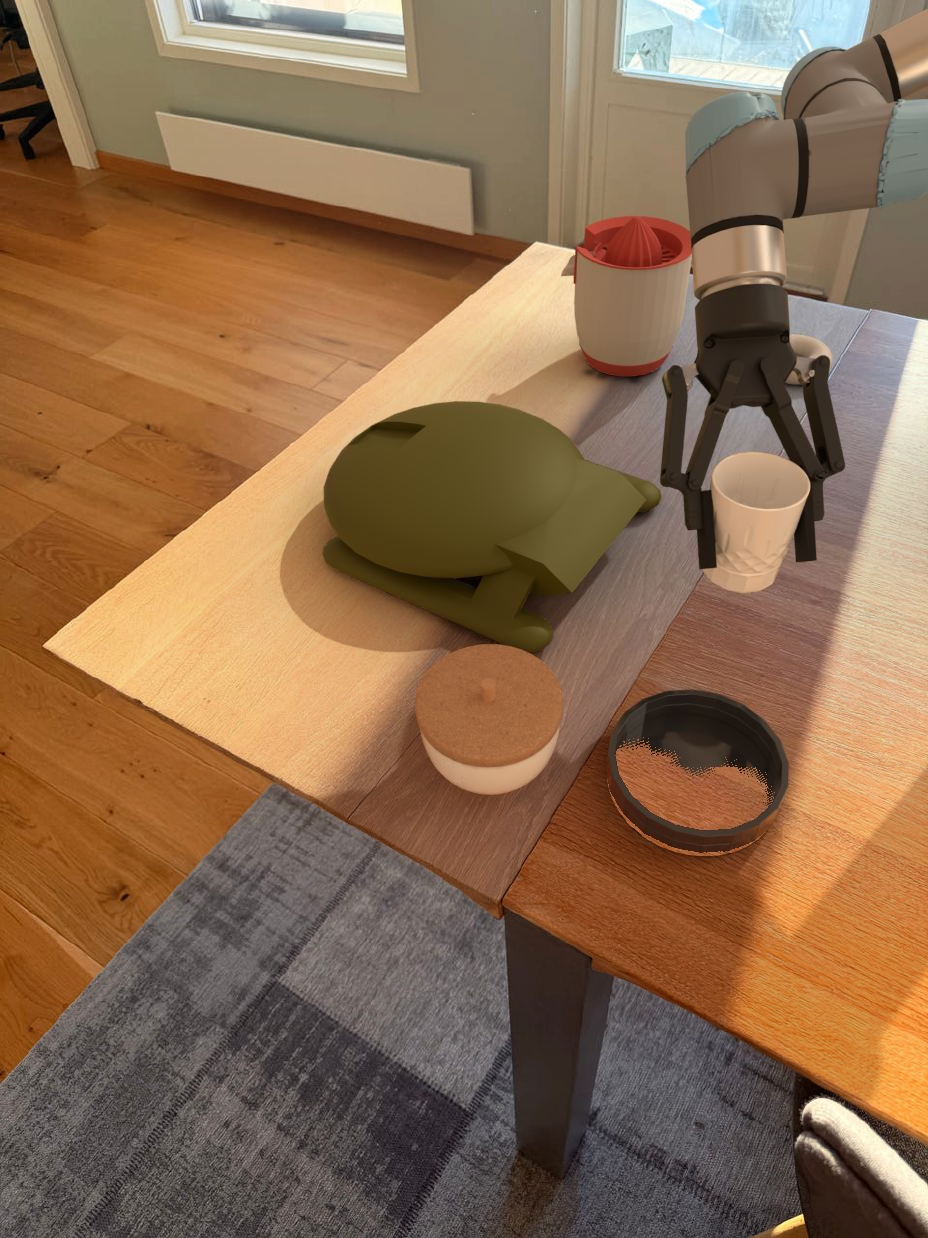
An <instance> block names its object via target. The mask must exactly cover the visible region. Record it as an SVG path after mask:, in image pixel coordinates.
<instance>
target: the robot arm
mask: <svg viewBox="0 0 928 1238" xmlns="http://www.w3.org/2000/svg"><path fill="white" fill-rule="evenodd" d="M780 106H781V114H782V116H783V117H782V119H780V115H779V114H778V112H777V106H776V102H775V101H774V100H773V98H771V97H770V96H769V95H768V94H765V93H763V92H754V93H750V92H749V91H745V90H744V91H737V92H731V93H727V94H724V95H722V96H718V97H716V98H714V99H712V100H710V101H708V102H706V103H705V104H704V105H702V106H701V107H699V108H698V110H696V111H695V112H694V113H693V115H692V116H691V117H690V119H689V121H688V123H687V126H686V128H685V133H684V134H685V137H684V138H685V176H684V178H685V184H686V196H687V197H686V198H687V209H688V221H689V231H690V237H691V250H692V260H691V266H692V278H693V279H692V283H693V296H694V297H695V298H696V299H697V300H699V301H698V302H697V304H695V306H694V317H695V319H694V320H695V332H696V333H695V334H696V348H697V353H696V357H695V359H694V362H693V363H691V364H687V365H683V366H680V365H672V366H670V367H669V368H668V369H667V370H666V372H665V373H663V374H662V376H661V381H662V382H661V383H662V386H663V390H664V394H665V397H666V407H665V419H664V430H663V432H664V433H663V442H662V450H661V451H662V452H661V463H660V473H659V474H660V475H659V483H660V485H661V486H662V487H664V488H671V489H674V490H677V491H679V492H680V493H681V495H682V498H683V500H682V501H683V513H684V515H683V516H684V526H685V528H686V530H687V531H696V540H697V542H696V543H697V555H698V556H697V557H698V569H699V570H703V569H710V568H717V562H716V546H715V530H714V514H713V500H712V491H711V490H710V489H705V490H702V486H703V484H704V481H705V478H706V475H707V473H708V469H709V467H710V464H711V461H712V458H713V456H714V455H713V454H714V452H715V449H716V446H717V444H718V440H719V437H720V435H721V431H722V429H723V426H724V422H725V421H726V417H727V415H728V413H729V411H730V410H731V409H733V410H734V409H736V408H740V407H743V406H744V407H750V408H759V407H760V409H761V410H762V412H763V414H764V415H765V416H766V417H767V418H768V419H769V421H770V423H771V425H772V428H773V429H774V431H775V433H776V435H777V437H778V440H779V441H780V444H781V445H782V448H783V450H784V451H785V454H786V456H787V459H788V460H790V461H792V462H793V463H795V464H796V465H798V466H799V467H800V468H801V469H802V470H803V471H804V472H805V473H806V475H807V476H808V478H809V481H810V492H809V494H808V497H807V500H806V503H805V505H804V508H803V511H802V514H801V516H800V519H799V522H798V525H797V528H796V530H795V533H794V536H793V540H794V556H795V563H806V562H807V563H808V562H816V561H817V560H818V557H817V556H818V555H817V541H816V540H817V539H816V526H815V524H816V523H815V522H820V521H823V520H824V517H825V500H824V499H825V498H824V482H825V481H826V480H827V479H828V478H830V477H832V476H834V475H836V474H839V473H841V472H843V471H844V470H845V468H846V461H845V457H844V452H843V446H842V443H841V438H840V433H839V430H838V424H837V419H836V416H835V410H834V406H833V402H832V401H833V400H832V396H831V393H830V387H829V383H828V382H829V375H830V371H829V369H830V359H829V357H827V356H825V355H821V356H819V357H817V358H807V357H799V356H796V353H795V351H794V350H793V348H792V346H791V344H790V334H791V330H790V329H791V327H790V326H791V324H790V310H789V294H788V291H787V290H785V288H784V285H785V284H786V283H787V281H788V274H787V261H786V248H785V247H786V246H785V236H784V235H785V233H784V232H785V231H784V220H788V219H789V220H790V219H799V218H801V217H810V216H817V215H826V214H834V213H840V212H841V213H842V212H849V211H858V210H868V209H874V208H877V209H879V210H880V209H884V208H885V207H887V206H891V205H897V204H901V203H905V202H911V201H916V200H919V199H921V198H923V197H924V196H925V195H927V194H928V8H927V9H925V10H923V11H921V12H919V13H917V14H914V15H913V16H911V17H909V18H907V19H905V20H904V21H901V22H900V23H898V24H896V25H894V26H892V27H890V28H888V29H886V30H884V31H882V32H879V33H877V34H876V35H874V36H872V37H870V38H868V39H865V40H863V41H861V42H860V43H857V44H856V45H853V46H851V47H850V48H848V49H846V48H843V47H838V46H823V47H818V48H816V49H814V50H811V51H809V52H808V53H806V54H805V55H804V56H802V57H801V58H800V59H799V60H798V61H797V62H796V63H795V64H794V65H793V66H792V68H791V69H790V71H789V72H788V74H787V75H786V78H785V80H784V82H783V85H782V90H781V94H780ZM830 370H831V369H830ZM792 371H794V372H795V373H796V374H797V378H798V382H799V383H800V384H799V385H802V396H803V401H804V407H805V411H806V415H807V419H808V423H809V428H810V433H811V438H812V442H813V446H812V444H811V441H810V440H809V438H808V436H807V434H806V432H805V430H804V428H803V426H802V423H801V421H800V419H799V418H798V415H797V413H796V411H795V409H794V408H793V405H792V404H793V400H792V398H791V395H790V393H789V391H788V389H787V387H786V385H785V384H786V383H785V382H786V380H787V379H788V377H789V375H790V374H791V372H792ZM695 378H696V379H697V381H698V382H699V383H700V384H701V385H702V387H703V388H704V389H705V390H706V391H707V393H708V394H709V395H710V396H709V398H708V402H707V404H706V407H705V410H704V414H703V415H704V417H703V420H702V423H701V425H700V429H699V433H698V434H697V437H696V440H695V443H694V446H693V449H692V452H691V455H690V458H689V461H688V464H687V466H686V469H685V473H684V472H682V468H683V456H684V444H685V433H686V423H687V413H688V412H687V411H688V400H689V393H688V392H689V391H690V390H691V389H692V388H693V385H694V379H695Z"/></svg>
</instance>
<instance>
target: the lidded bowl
mask: <svg viewBox="0 0 928 1238" xmlns="http://www.w3.org/2000/svg"><path fill="white" fill-rule="evenodd" d="M414 710H415V716H416V720H417V721H416V722H417V725H418V726H419V731H420V732H419V733H420V736H421V737H420V738H421V741H422V744H423V746H424V749H425V751H426V754H427V756H428V758H429V759H430V761H431V763H432V764H433V766H434V767H435V769H436V770H437V771H438V772H439V773H440V774H441V775H442V776H443V777H444V778H445V779H446V780H447V781H449V782H450V783H451V784H452V785H454V786H456V787H458V788H460V789H462V790H464V791H467V792H470V793H474V794H479V795H488V796H492V795H493V796H494V795H502V794H503V795H504V794H508V793H510V792H513V791H516V790H518V789H520V788H522V787H524V786H526V785H528V784H529V783H531V782H532V781H533V780H535V779H536V778H537V776H539V775H540V773H542V771H544V769H545V768H546V767H547V765H548V763H549V762H550V759H552V755H553V754H554V752H555V750H556V746H557V742H558V740H559V734H560V731H561V723H562V718H563V713H564V694H563V689H562V687H561V684H560V682H559V680H558V678H557V676H556V675H555V673H554V672H553V671H552V669H551V668H550V667H549V666H548V665H547V664H546V663H545V662H543V660H541V659H540V658H538V657H537V656H535V655H533V654H532V653H528V652H526V651H524V650H521V649H518V648H515V647H511V646H506V645H502V644H500V643H498V644H495V643H485V644H475V645H469V646H466V647H463V648H459V649H456V650H455V651H453V652H451V653H449V654H446V655H445V656H443V657H441V658H440V659H439V660H437V661H436V662H435V663H434V664H433V665H432V666H430V668H429V669H427V671H426V672H425V673H424V675H423V677H422V678H421V680H420V681H419V684H418V686H417V689H416V692H415V697H414Z"/></svg>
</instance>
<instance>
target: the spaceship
mask: <svg viewBox="0 0 928 1238" xmlns="http://www.w3.org/2000/svg"><path fill="white" fill-rule="evenodd" d="M662 496H663V495H662V491H661V489H659V487H658V486H657V485H656V484H655V483H653V482H651V481H649V480H646V479H643V478H641V477H638V476H634V475H631V474H628V473H625V472H623V471H620V470H618V469H617V470H616V469H615V468H614V469H613V468H611V467H608V466H605V465H602V464H599V463H597V462H593V461H591V460H587V459H585V457H584V456H583V454H582V453H581V451H580V450H579V448H578V447H577V446H576V444H575V443H574V441H573V440H571V438H570V437H568V436H567V435H566V434H565V433H564V432H563V431H562V430H561V429H560V428H558V427H556V426H555V425H553V424H551V422H548V421H547V420H545V419H544V418H542V417H538V416H536V415H534V414H531V413H529V412H526V411H524V410H521V409H519V408H515V407H511V406H507V405H502V404H499V403H494V402H493V403H492V402H486V401H485V402H484V401H473V400H471V401H469V400H468V401H467V400H466V401H465V400H463V401H462V400H457V401H456V400H455V401H445V402H435V403H430V404H424V405H420V406H416V407H411V408H409V409H405V410H402V411H400V412H397V413H394V414H391V415H390V416H388V417H386V418H384V419H381V420H380V421H377V422H375V423H373V424H372V425H370V426H369V427H367V428H365V430H363V431H362V432H360V433H358V434H357V435H356V436H354V437H353V438H352V439H351V440H350V442H348V443H347V444H346V445H345V446H344V447H343V448H342V449H341V450H340V452H339V454H338V455H337V457H336V458H335V460H334V462H333V463H332V465H331V466H330V468H329V470H328V473H327V476H326V479H325V483H324V485H323V508H324V511H325V514H326V517H327V520H328V522H329V525H330V526H331V528H332V529H333V531H334V532H335V533H336V535H337V536H335V537H333V538H331V539H330V540H328V541H327V542H326V544H325V545H324V547H322V548H323V549H322V558H323V560H324V562H325V564H327V565H328V566H329V567H331V568H333V569H335V570H337V571H339V572H342V573H344V574H346V575H348V576H350V577H353V578H355V579H357V580H359V581H361V582H364V583H366V584H368V585H369V586H372V587H374V588H376V589H379V590H381V591H383V592H386V593H387V594H389V595H392V596H394V597H397V598H399V599H401V600H403V601H405V602H407V603H410V604H412V605H414V606H417V607H419V608H421V609H423V610H425V611H428V612H430V613H432V614H434V615H436V616H438V617H440V618H443V619H445V620H447V621H450V622H452V623H454V624H456V625H458V626H460V627H462V628H464V629H467V630H469V631H471V632H474V633H476V634H478V635H480V636H483V637H485V638H487V639H488V640H491V641H494V642H495V643H498V644H499V645H506V646H511V647H515V648H518V649H521V650H524V651H526V652H528V653H530V654H532V653H536V652H539V651H542V650H544V649H546V648H547V647H548V646H549V645H550V644H551V642H552V640H553V638H554V637H553V636H554V633H553V626H552V625H551V623H550V621H549V619H546V618H545V617H544V616H542V615H540V614H538V613H536V612H534V611H532V610H529V609H527V608H525V607H524V605H525V603H526V601H527V599H528V597H529V595H530V593H531V594H534V595H537V596H539V597H541V598H544V597H551V596H558V595H566V594H572V593H574V592H575V590H576V589H577V587H578V586H579V585H580V584H581V582H582V581H583V580H584V578H586V576H587V575H588V574H589V572H590V571H591V570H592V569H593V567H594V566H595V565H596V564H597V563H598V561H599V560H600V559H601V557H602V556H603V555H604V554H605V552H606V551H607V550H608V548H609V547H610V546H611V545H612V544H613V542H614V541H615V540H616V538H618V536H619V535H620V534H621V532H622V531H623V530H624V529H625V527H627V525H628V523H629V522H630V521H631V520H632V519H633V517H634V516H635V515H636V514H637V513H640V512H642V513H644V512H649V511H651V510H653V509H655V508H656V507H657V506H659V505H660V503H661V500H662ZM480 576H481V580H480V581H479V583H478V585H477V586H473V585H471V584H469V583H467V582H464V581H462V580H459V579H461V578H463V579H464V578H470V577H480Z"/></svg>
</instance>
